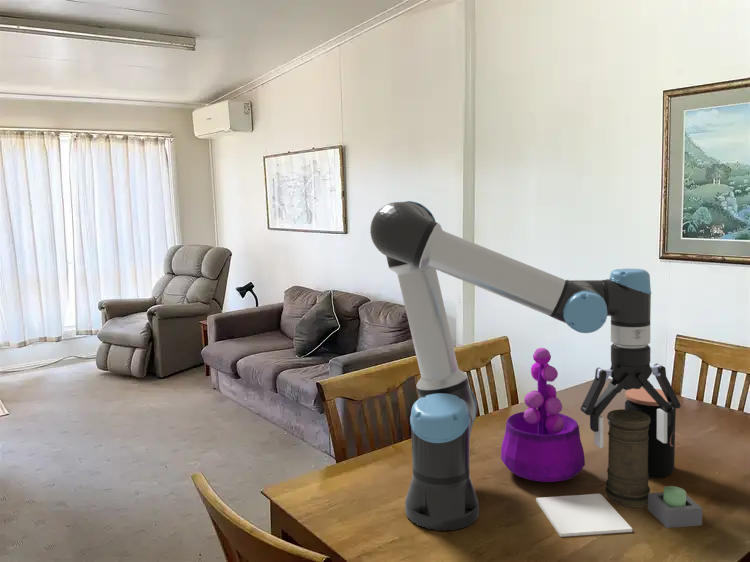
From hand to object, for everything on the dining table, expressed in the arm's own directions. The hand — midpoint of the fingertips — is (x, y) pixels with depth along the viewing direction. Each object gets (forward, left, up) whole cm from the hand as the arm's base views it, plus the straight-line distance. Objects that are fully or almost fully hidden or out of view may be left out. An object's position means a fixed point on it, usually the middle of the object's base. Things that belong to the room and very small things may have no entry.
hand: (630, 443), depth 125 cm
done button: (+5, -9, -12) cm, 16 cm away
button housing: (+5, -9, -12) cm, 16 cm away
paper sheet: (-13, -6, -12) cm, 18 cm away
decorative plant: (-14, +13, -12) cm, 23 cm away
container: (0, 0, -12) cm, 12 cm away
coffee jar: (+11, +12, -12) cm, 20 cm away
